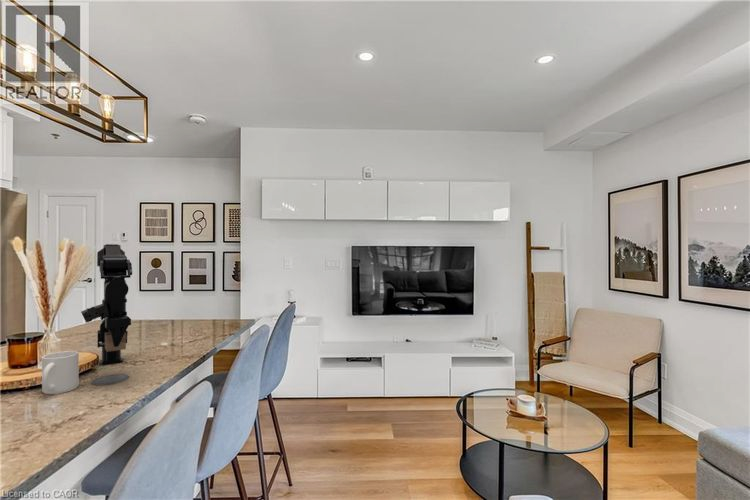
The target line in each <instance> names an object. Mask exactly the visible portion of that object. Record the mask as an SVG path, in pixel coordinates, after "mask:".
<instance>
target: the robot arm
mask: <svg viewBox="0 0 750 500" xmlns="http://www.w3.org/2000/svg"><path fill="white" fill-rule="evenodd" d="M121 246H122V245H120V244H117V243H116V244H113V243H111V244H109V243H107V244H103V248H102V249H100V250H98V251H97V254H96V266H97V267H99V273H100V279H101V280H103V279H104V281H103V296H104V297H103V299H101V300H102V301H101V304H98V305H95V306H91V307H89V308H86V309H85V310H81V311H80V313H81V315H82V317H83V319H84V321H85V323H89V322H92V321H93V320H95V319H99V318H100V320H101V322H100V324H99V329H98V330H97V334H96V335H97V336H96V337H97V341H96V343H97V345H96V346H97V348H101V359H100V360H99V362H100V365H101V366H102V365H109V364H115V363H122V362H123V361H124V360H123V357H122V356H121V355H122V354H121V353H122V350H116V351H109V352H106V350H105V333H108V332H111V335H112V339H113V344H114V347H118V346H119V344H120V342H121V340H122V338H123V336H124V334H125V333H126V344H128V334H129V333H128V330H127V329H128V328H129V326H131V325H132V319H131V317H129V316H128V312H127V304H126V303H128V299H127V294H128V293H129V289H130V288H129V286H128V284H127V281H126V280H125V279H127V278H129V279H130V278H131V276H132V275H133V264H132V262H131V260H130V259H128V257H127V255H126V252H125V251H124V250H123V249H121V248H122V247H121Z"/></svg>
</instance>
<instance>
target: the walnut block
mask: <svg viewBox="0 0 750 500" xmlns="http://www.w3.org/2000/svg"><path fill="white" fill-rule="evenodd" d="M126 347H127V343H126V333H125V334H124V336H123V338H122V340H121V342H120V344H119V346H118V347H114V344H113V339H112V335H111V332H108V333H105V350H106V352H109V351H116V350H121V351H122V350H126V349H127V348H126Z"/></svg>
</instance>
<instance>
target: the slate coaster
mask: <svg viewBox="0 0 750 500" xmlns="http://www.w3.org/2000/svg"><path fill="white" fill-rule="evenodd" d="M129 378H130V375H129V374H125V373H116V374H108V375H103V376H100V377H96V378H95V379H92V380H91V381H90V384H91V385H93V386H106V385H112V384H113V385H114V384H117V383H120V382H121V383H122V382H123V381H126V380H128V379H129Z"/></svg>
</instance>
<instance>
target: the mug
mask: <svg viewBox="0 0 750 500" xmlns="http://www.w3.org/2000/svg"><path fill="white" fill-rule="evenodd" d="M79 357H80V356H79V351H76V350H65V351H64V350H63V351H56V352H51V353H48V354H45V355H43V356H42V357H41V391H42V393H43V394H45V395H59V394H64V393H68V392H70V391H74V390H75V389H76V388H78V387H79V384H80V383H79V377H80V374H79V373H80V372H79V366H80V365H79V364H80V363H79V362H80V361H79V360H80V359H79Z"/></svg>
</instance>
